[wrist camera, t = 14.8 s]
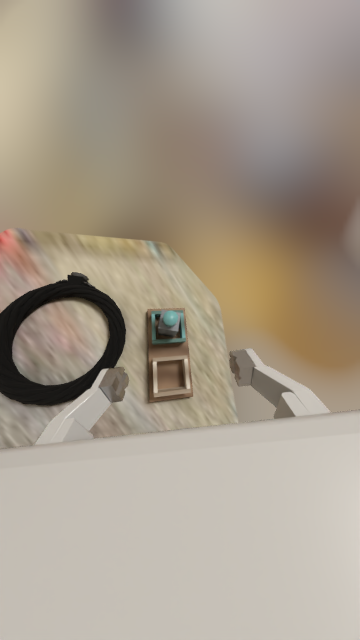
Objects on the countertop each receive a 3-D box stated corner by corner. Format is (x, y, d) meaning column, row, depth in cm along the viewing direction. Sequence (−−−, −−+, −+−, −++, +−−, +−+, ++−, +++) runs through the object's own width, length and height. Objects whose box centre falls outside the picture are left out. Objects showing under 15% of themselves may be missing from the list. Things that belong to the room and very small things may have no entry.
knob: (173, 337, 35) (179, 329, 25) (158, 334, 34) (158, 325, 25) (176, 322, 36) (182, 309, 26) (161, 319, 35) (162, 305, 26)
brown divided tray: (191, 394, 33) (196, 400, 29) (149, 400, 31) (148, 407, 27) (183, 310, 39) (186, 304, 34) (147, 311, 37) (146, 304, 33)
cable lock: (-55, 408, 24) (12, 263, 32) (-27, 401, 27) (27, 273, 36) (111, 408, 27) (133, 278, 35) (117, 402, 31) (135, 285, 39)
